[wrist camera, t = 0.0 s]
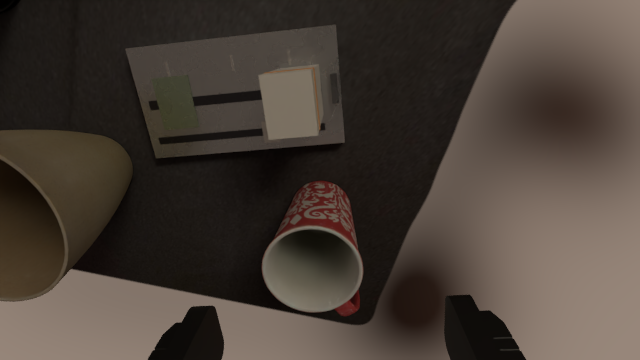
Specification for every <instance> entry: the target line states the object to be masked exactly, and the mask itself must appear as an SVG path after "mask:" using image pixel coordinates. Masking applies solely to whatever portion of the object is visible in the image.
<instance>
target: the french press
mask: <svg viewBox="0 0 640 360" xmlns="http://www.w3.org/2000/svg"><path fill="white" fill-rule="evenodd" d="M18 1H19V0H0V14H1V13H3V12H6V11H8V10H10V9H11V8H13V7H14V6H15V5H16V3H17V2H18Z"/></svg>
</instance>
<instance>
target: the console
mask: <svg viewBox="0 0 640 360" xmlns="http://www.w3.org/2000/svg"><path fill="white" fill-rule="evenodd" d="M125 50H126V53H127V57H128V60H129V64H130V67H131V71H132V75H133V78H134V82H135V85H136V89H137V92H138V96H139V100H140V103H141V107H142V110H143V114H144V117H145V121H146V125H147V128H148V132H149V135H150V139H151V142H152V146H153V150H154V153H155V157H156V158H167V157H179V156H191V155H203V154H215V153H227V152H239V151H250V150H262V149H274V148H286V147H298V146H310V145H322V144H334V143H345V138H344V125H343V112H342V99H341V87H340V74H339V61H338V48H337V35H336V25H329V26H321V27H312V28H303V29H294V30H285V31H277V32H268V33H259V34H250V35H241V36H233V37H224V38H215V39H206V40H197V41H189V42H180V43H171V44H162V45H154V46H145V47H136V48H127V49H125ZM317 64H319V71H320V82H321V92H322V102H323V113H324V114H323V118H322V122H321V126H320V130H319V133H318V136H308V137H296V138H285V139H273V140H268V133H267V127H266V121H265V114H264V108H263V102H262V95H261V89H260V83H259V76H258V75H261V74H264V73H265V72H270V71H273V70H276V69H280V68H288V67H298V66H307V65H317Z"/></svg>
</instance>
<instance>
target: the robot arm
mask: <svg viewBox="0 0 640 360" xmlns="http://www.w3.org/2000/svg"><path fill="white" fill-rule="evenodd" d="M444 327H445V328H444V331H445V332H444V334H445V342H446V347H447V351H448V354H449V356H450V359H451V360H526V359H525V357H524V356H523V354H522V352H521V351H520V350H519V347H518V345H517V344H516V342H515V340H514V339H513V338H512V335H511V334H510V332H509V330H508V329H507V327H506V325H505V324H504V322H503V321H502V320H501V319H499V318H498V317H497V316H496V315H495V314H493V313H492V312H491V311H479V309H478V308H477V306H476V304H475V302H474V300H473V298H472V297H471V296H470V295H453V296H447V297H446V299H445V326H444ZM223 350H224V340H223V335H222V331H221V328H220V324H219V320H218V316H217V312H216V309H215V307H214V306H196V307H191V308H190V309H189V310H188V312H187V314H186V316H185V317H184V319H183V321H182V323H175V324H174V325H173V326H172V327H171V328H170V329H168V330H167V331H166V332H165V333H164V334H163V335H162V337H161V339H160V340H159V342H158V344H157V345H156V347H155V350H154V351H152V353H151V355H150V357H149V358H148V360H221V359H222V356H223Z"/></svg>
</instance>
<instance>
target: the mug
mask: <svg viewBox="0 0 640 360" xmlns="http://www.w3.org/2000/svg"><path fill="white" fill-rule="evenodd" d="M262 274H263V279H264V281H265V283H266V286H267V287H268V289H269V290H270V292H271V293H272V294H273V295H274V296H275V297H276V298H277V299H278V300H279V301H281V302H282V303H284V304H285V305H287V306H289V307H291V308H293V309H296V310H300V311H304V312H324V311H328V310H332V309H335V310H336V311H337V312H338V313H339V314H340V315H342V316H348V315H350V314H352V313H354V312H356V311H357V310H358V309H359V306H360V297H359V291H358V289H359V287H360V284H361V281H362V277H363V263H362V259H361V256H360V253H359V251H358V246H357V240H356V235H355V230H354V224H353V218H352V213H351V205H350V202H349V199H348V197H347V195H346V193H345V192H344V191H343V190H342V189H341V188H340V187H338V186H337V185H335V184H333V183H331V182H326V181H314V182H310V183H308V184H306V185H304V186H303V187H301V188H300V189H299V190H298V191H297V193H296V194H295V196H294V198H293V200H292V202H291V205H290V207H289V209H288V211H287V213H286V214H285V217H284V219H283V221H282V223H281V225H280V227H279V229H278V231H277V233H276V235H275V237H274V240H273V241H272V242H271V243H270V244H269V246H268V247H267V249H266V251H265V253H264V256H263V260H262Z"/></svg>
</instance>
